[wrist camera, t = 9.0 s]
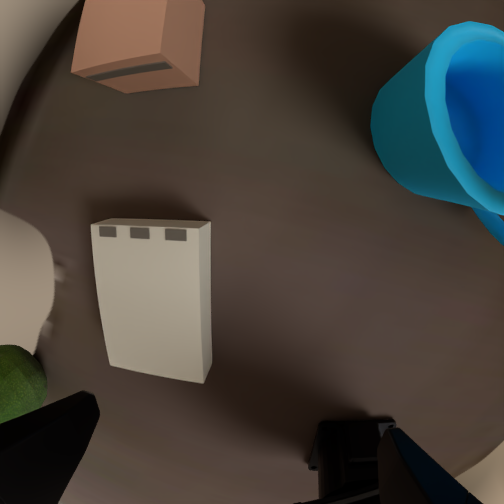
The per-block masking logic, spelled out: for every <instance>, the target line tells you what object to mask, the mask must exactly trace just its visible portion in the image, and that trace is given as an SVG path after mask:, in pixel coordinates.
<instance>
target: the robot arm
mask: <svg viewBox="0 0 504 504" xmlns="http://www.w3.org/2000/svg"><path fill="white" fill-rule="evenodd" d="M99 417H100V410H99V407H98V404H97V401H96V398H95V395H94V394H93V393H90V392H87V391H80V392H77V393H75V394H73V395H70V396H68V397H66V398H63V399H61V400H59V401H56V402H54V403H51V404H49V405H46V406H44V407H42V408H39V409H37V410H34V411H32V412H29V413H27V414H24V415H21V416H19V417H16V418H14V419H11V420H8V421H6V422H3V423H1V424H0V504H58V502H59V500H60V498H61V496H62V494H63V493H64V491H65V489H66V487H67V485H68V483H69V481H70V479H71V477H72V476H73V474H74V472H75V470H76V468H77V466H78V464H79V463H80V461H81V459H82V457H83V455H84V453H85V451H86V449H87V447H88V444H89V442H90V439H91V437H92V434H93V432H94V429H95V427H96V425H97V422H98V420H99ZM325 426H326V427H325ZM308 469H309V470H313V471H318V485H319V499H317V500H313V501H308V502H303V503H301V502H298V503H293V504H483V503H482V502H480V501H479V500H478V499H477V498H476V497H475V496H473V495H472V494H471V493H468V490H467V489H465V488H464V487H463V486H462V485H461V484H460V483H458V481H457V480H455V479H454V478H453V477H452V476H451V475H450V474H449V473H448V472H447V471H446V470H444V469H443V468H442V467H441V466H440V465H439V464H438V463H437V462H436V461H435V460H434V459H432V458H431V457H430V456H429V455H428V454H427V453H426V452H425V451H424V450H423V449H422V448H421V447H419V446H418V445H417V444H416V443H415V442H414V441H413V440H412V439H411V438H410V437H409V436H408V435H407V434H406V433H405V432H403V431H402V430H401V429H400V428H396V422H395V420H393V419H388V420H367V421H322V422H320V423H319V425H318V429H317V433H316V437H315V441H314V445H313V449H312V453H311V456H310V460H309V464H308Z"/></svg>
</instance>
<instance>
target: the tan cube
mask: <svg viewBox="0 0 504 504" xmlns="http://www.w3.org/2000/svg"><path fill="white" fill-rule="evenodd" d="M204 13H205V5H204V3H203V1H202V0H86V1H85V5H84V8H83V12H82V17H81V21H80V25H79V30H78V35H77V40H76V45H75V50H74V56H73V62H72V69H71V73H73V74H76V75H79V76H81V77H84V78H87V79H90V80H92V81H95V82H98V83H100V84H103V85H105V86H108V87H111V88H113V89H116V90H118V91H121V92H123V93H126V94H127V93H134V92H141V91H149V90H157V89H166V88H176V87H188V86H199V72H200V58H201V46H202V34H203V23H204Z"/></svg>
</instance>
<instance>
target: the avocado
mask: <svg viewBox="0 0 504 504" xmlns="http://www.w3.org/2000/svg"><path fill="white" fill-rule="evenodd" d="M46 396H47V378H46V375H45V373H44V370H43V368H42V366H41V364H40V363H39V362H38V361H37V360H36V359H35V358H34V357H33V356H32V355H31V353H30V352H28V351H27V350H25V349H23V348H22V347H20V346H17V345H0V424H1V423H3V422H6V421H8V420H11V419H14V418H16V417H19V416H21V415H24V414H27V413H29V412H32V411H34V410H37V409H39V408H40V407H41V405H42V403H43V402H44V400H45V398H46Z"/></svg>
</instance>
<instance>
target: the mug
mask: <svg viewBox="0 0 504 504" xmlns="http://www.w3.org/2000/svg"><path fill="white" fill-rule="evenodd" d="M370 128H371V133H372V138H373V143H374V148H375V150H376V152H377V154H378V156H379V158H380V160H381V162H382V164H383V166H384V168H385V169H386V170H387V171H388V172H389V173H390V174H391V176H392V177H393V178H394V179H395V180H396V181H397V182H398V183H399V184H400V185H402V186H403V187H405V188H407V189H408V190H410V191H412V192H413V193H415V194H418V195H423V196H427V197H431V198H436V199H440V200H445V201H449V202H453V203H457V204H462V205H466V206H470V207H472V209H473V210H474V212H475V213H476V215H477V217H478V218H479V219H480V221H481V222H482V223H483V224H484V226H485V227H486V228H487V229H488V231H489V232H490V233H491V234H492V235H493V236H494V237H495V238H496V239H497V240H498V241H499V242H500V243H501V244H502V245H503V246H504V221H503V220H502V219H501V218H500V217H499V216H498V214H500V215H504V32H503V31H501V30H499V29H497V28H495V27H493V26H492V25H487V24H482V23H477V22H471V21H468V22H464V23H460V24H456V25H452V26H449V27H448V28H447V29H446V30H445V31H444V32H442V33H441V34H440V35H439V36H438V37H437V38H436V39H434V40H433V41H432V42H431V43H430V44H429V45H428V46H427V47H425V48H424V49H423V50H422V51H421V52H420V53H419V54H418V55H416V56H415V57H414V58H413V59H412V60H411V61H410V62H409V63H408V64H406V65H405V66H404V67H403V68H402V69H401V70H400V71H399V72H398V73H397V74H396V75H394V76H393V77H392V78H391V79H390V80H389V81H388V82H387V83H386V84H385V85H384V86H383V87H382V88H381V89H380V90H379V93H378V95H377V97H376V99H375V102H374V104H373V106H372V114H371V125H370Z"/></svg>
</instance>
